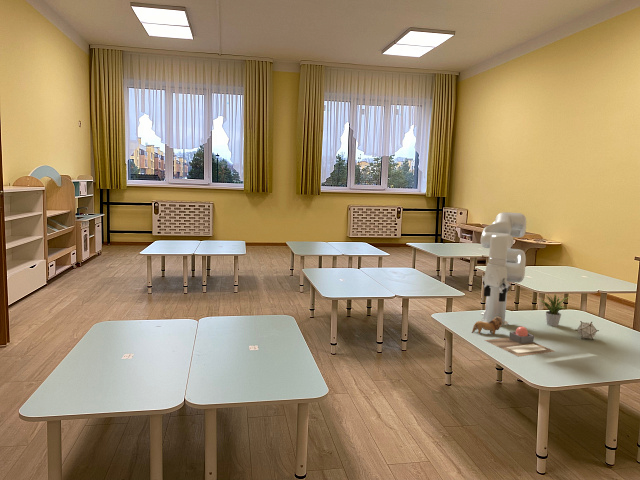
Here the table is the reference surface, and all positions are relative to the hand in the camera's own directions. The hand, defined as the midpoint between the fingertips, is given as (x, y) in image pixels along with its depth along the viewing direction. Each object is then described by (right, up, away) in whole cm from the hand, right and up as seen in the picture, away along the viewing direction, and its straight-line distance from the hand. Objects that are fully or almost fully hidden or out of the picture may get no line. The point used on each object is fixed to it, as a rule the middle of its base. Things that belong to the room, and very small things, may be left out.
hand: (494, 298), depth 217 cm
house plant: (+39, -16, +23) cm, 48 cm away
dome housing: (+10, -18, -6) cm, 21 cm away
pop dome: (+10, -17, -6) cm, 21 cm away
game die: (+44, -19, +3) cm, 48 cm away
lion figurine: (-3, -18, +3) cm, 18 cm away
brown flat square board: (+6, -20, -13) cm, 24 cm away
